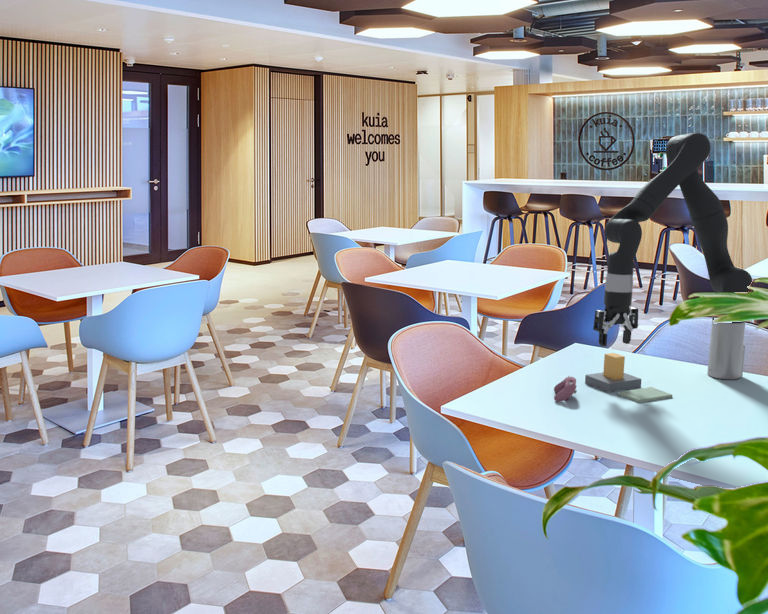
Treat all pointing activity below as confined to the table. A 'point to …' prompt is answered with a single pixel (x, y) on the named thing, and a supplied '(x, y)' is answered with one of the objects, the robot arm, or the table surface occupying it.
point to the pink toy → (565, 389)
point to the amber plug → (614, 366)
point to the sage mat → (645, 394)
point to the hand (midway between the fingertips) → (614, 344)
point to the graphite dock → (612, 382)
